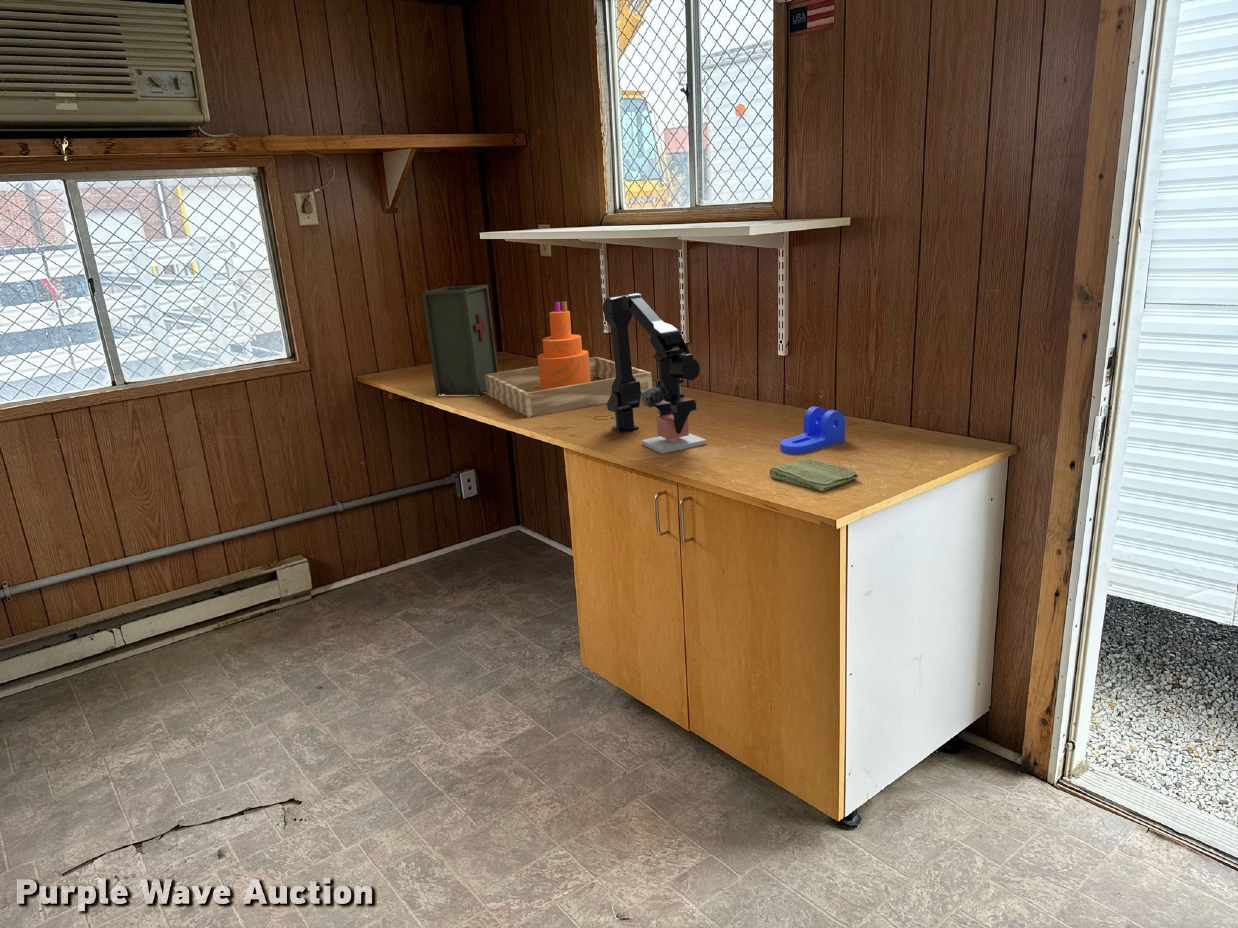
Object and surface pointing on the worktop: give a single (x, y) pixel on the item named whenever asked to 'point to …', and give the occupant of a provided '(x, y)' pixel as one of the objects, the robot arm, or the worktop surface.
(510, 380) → the storage crate
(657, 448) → the peg base plate
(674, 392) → the robot arm
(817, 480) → the washcloth
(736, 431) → the worktop surface
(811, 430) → the bracket
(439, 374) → the first aid box
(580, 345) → the cake
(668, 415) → the pink slotted box
